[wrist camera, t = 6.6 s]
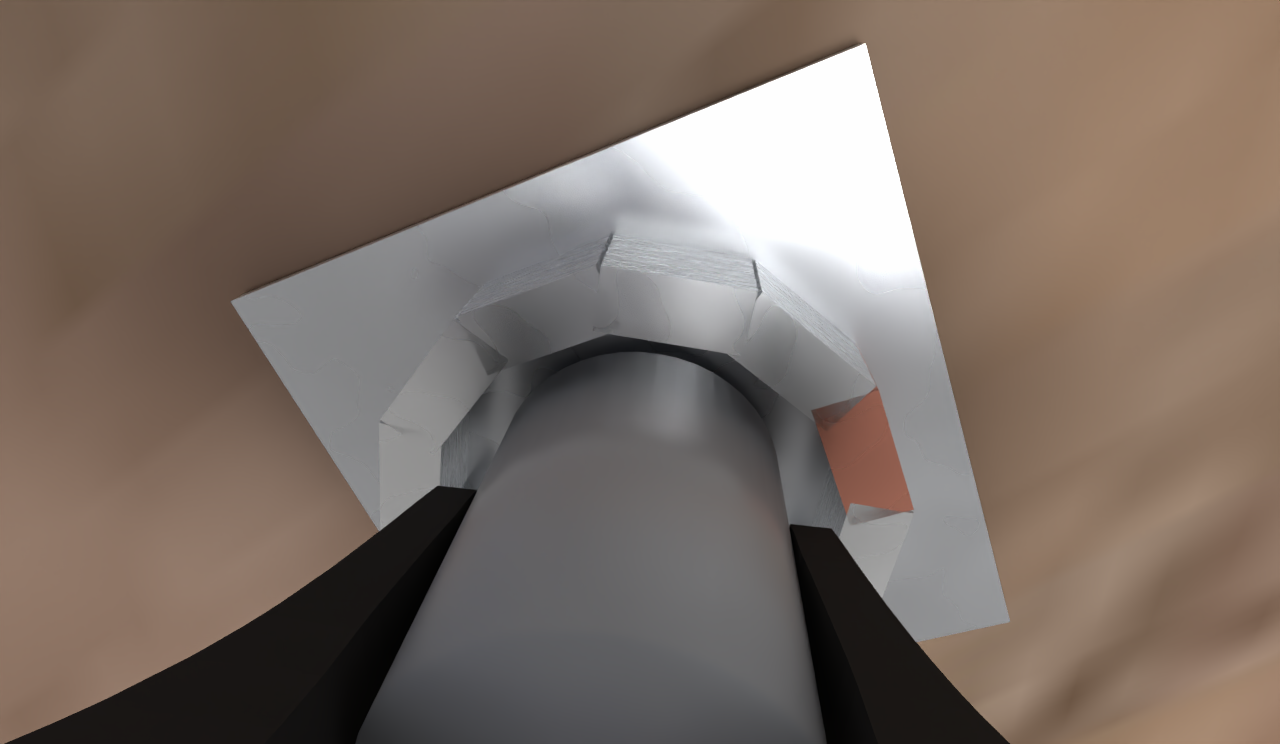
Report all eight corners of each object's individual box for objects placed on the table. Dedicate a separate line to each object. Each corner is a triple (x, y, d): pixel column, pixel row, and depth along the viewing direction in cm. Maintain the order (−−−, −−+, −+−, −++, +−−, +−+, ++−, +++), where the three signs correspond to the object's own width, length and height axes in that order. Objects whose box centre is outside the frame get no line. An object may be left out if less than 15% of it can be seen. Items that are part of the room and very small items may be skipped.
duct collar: (243, 293, 13) (168, 336, 11) (859, 42, 10) (892, 45, 9) (511, 715, 17) (489, 797, 15) (1002, 607, 15) (1044, 688, 13)
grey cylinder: (511, 579, 14) (363, 1007, 8) (491, 347, 12) (267, 678, 6) (767, 594, 13) (819, 1052, 7) (790, 357, 11) (889, 720, 5)
